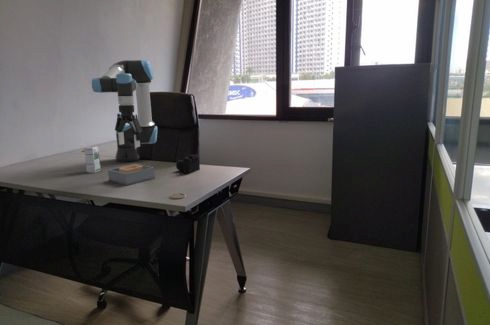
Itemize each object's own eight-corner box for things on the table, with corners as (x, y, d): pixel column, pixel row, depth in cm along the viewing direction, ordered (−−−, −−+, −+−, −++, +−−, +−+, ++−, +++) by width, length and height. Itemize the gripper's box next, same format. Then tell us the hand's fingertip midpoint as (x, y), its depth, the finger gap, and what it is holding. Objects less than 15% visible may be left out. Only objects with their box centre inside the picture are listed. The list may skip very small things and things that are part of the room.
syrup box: (95, 172, 208) (93, 148, 205) (86, 172, 210) (83, 147, 206) (101, 170, 214) (98, 146, 211) (92, 170, 215) (89, 146, 212)
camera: (187, 167, 219) (186, 151, 217) (202, 169, 215) (201, 153, 213) (173, 172, 207) (172, 155, 205) (188, 174, 203) (187, 157, 200)
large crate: (136, 174, 204) (136, 163, 203) (154, 178, 195) (154, 167, 194) (109, 180, 191) (107, 169, 190) (126, 185, 182) (125, 174, 180)
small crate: (135, 175, 199) (134, 164, 197) (143, 177, 195) (142, 166, 193) (119, 179, 191) (118, 168, 190) (127, 181, 187) (126, 169, 186)
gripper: (105, 104, 189) (109, 144, 194) (135, 105, 174) (138, 149, 179) (118, 103, 195) (121, 142, 199) (147, 105, 180) (150, 146, 185)
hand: (129, 145), depth 189 cm, fingers open, 13 cm apart
